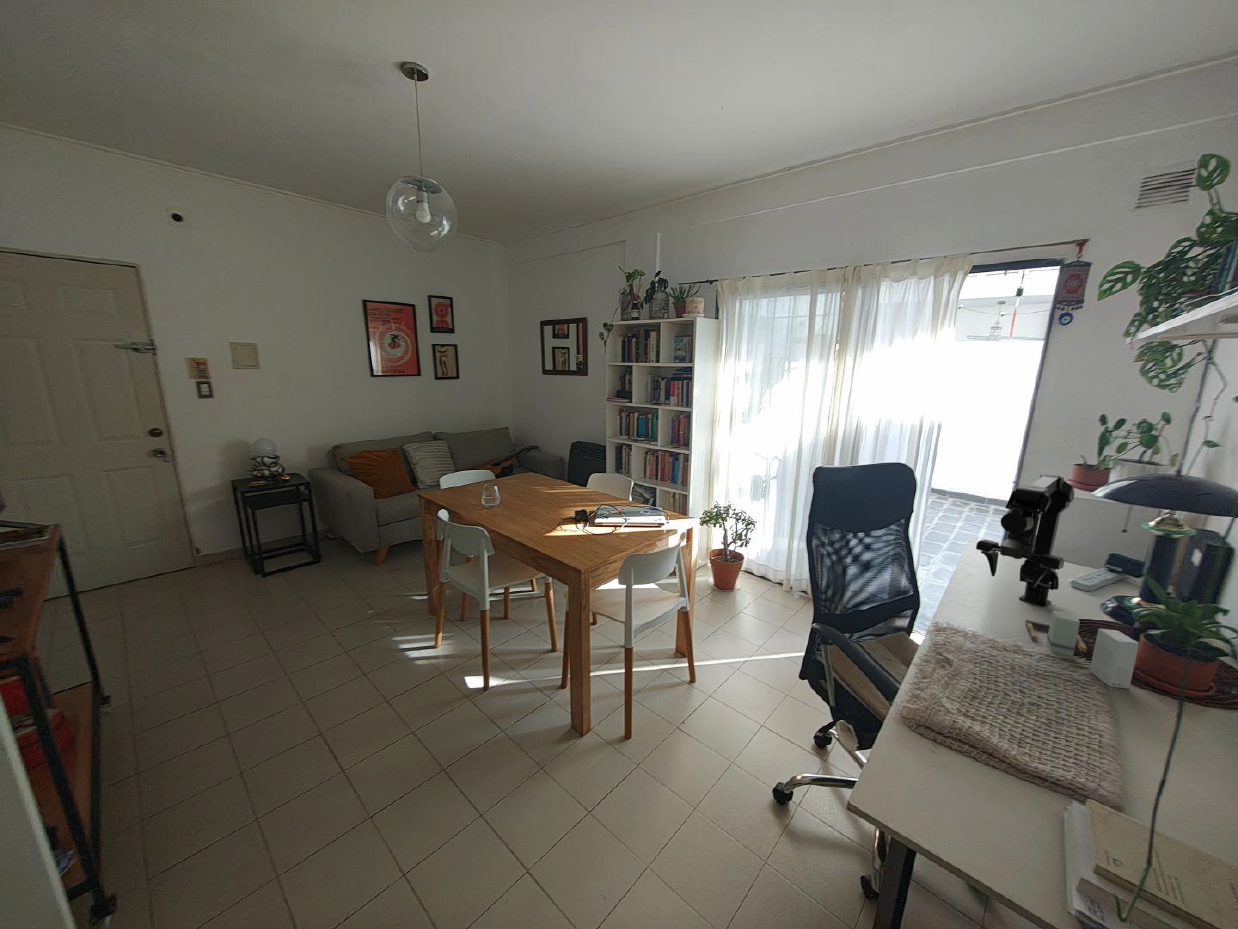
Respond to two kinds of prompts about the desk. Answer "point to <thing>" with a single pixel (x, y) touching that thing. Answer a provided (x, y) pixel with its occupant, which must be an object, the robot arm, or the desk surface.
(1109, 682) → the skincare box
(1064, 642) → the block
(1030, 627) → the walnut guide
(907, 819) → the desk surface
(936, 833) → the desk surface
